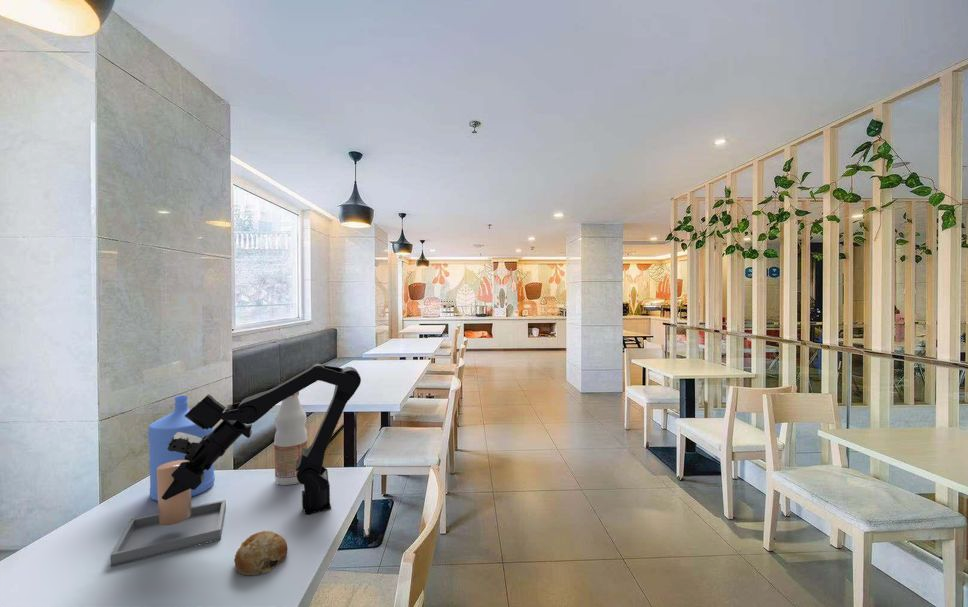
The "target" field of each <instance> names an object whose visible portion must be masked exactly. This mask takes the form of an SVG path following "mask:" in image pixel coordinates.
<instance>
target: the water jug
mask: <svg viewBox="0 0 968 607" xmlns="http://www.w3.org/2000/svg"><path fill="white" fill-rule="evenodd" d="M188 398H189V396H188V395H179V396H175V397H174V398H173V399H174V410H173V412H171V413H169V414H166V415H164V416H163V417H161V418H159V419H157V420H155V421H153V422H151V423H150V425H149V426H148V432H147V437H148V438H147V440H148V447H149V452H148V453H149V456H148V457H149V460H148V469H149V484H150V485H149V486H150V487H149V497H150V498H151V499H152V500H153V501H156V502H158V488H157V468H158V467H159V466H160V465H162V464H165V463H168V462H172V461H177V460H185V455H186V454H184V453H180V452H176V451H173V452H172V451H169V450H167V448H168V446H169V443H170V442H171V440H172V438H173V436H174V435H175V434H176V433H177V432H182V433H186V434H190V435H194V436H197V437H200V438H203V437H204V436H205V435H208V434H210V433H211V432H212V431H213V430H214V427H213V428H211V429H210V428H208V429H204V430H203V429H202V428H200V427H199V426H197V425H196V424H195V423H193V422H192V421H190V420H189V419H187V418H186V417H185V415H186V414H187V413H188V412H189V411H190V410H191V409H189V407H188V405H189V404H188V403H189V401H188ZM214 463H215V462H214ZM214 463H213V464H212V466H211V468H210V469H209V470H208V471H207V470H206V469H205V470H204V479H203V481H202V483H201V484H200V485H199V486H198V487H197V488H196V489H195V490H192V489H191V498H192V497H195V496H197V495H200V494H202V493H204V492H205V491H208V490H209V489H210V488H211V487H212V486H213V485H214V484H215V481H216V480H215V477H216V476H215V465H214Z"/></svg>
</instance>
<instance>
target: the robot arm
mask: <svg viewBox="0 0 968 607" xmlns="http://www.w3.org/2000/svg"><path fill="white" fill-rule="evenodd" d="M318 381H319V382H324V383H326V384H331V385H334V391H333V395H332V399H331V400H330V403H329V405H328V407H327V409H326V411H325V414H324V416H323V418H322V421H321V423H320V426H319V428H318V430H317V432H316V434H315V436H314V439H313V440H312V443H311V444H310V446H309V447H308V450H307V449H305V448H302V452H301V456H300V457H299V459H298V460H297V461H296V471H297V479H298V481H299V483H300V484H301V485H303V490H302V491H301V507H302V510H304V514H305V515H311V514H315V513H319V512H322V511H328V510H331V509H332V504H331V495H330V494H331V493H330V492H331V490H330V488H331V487H330V486H331V484H330V482H329V473H328V468H326V467H325V466H324V465H323V464H324V459H325V455H326V454H325V453H326V451H327V448H328V446H329V444H330V441H331V439H332V437H333V435H334V433H335V430H336V428H337V425H338V423H339V421H340V418H341V416H342V413H343V411H344V409H345V407H346V405H347V403H348V402H349V401H350V399H351V398H352V397H353V396H354V394H355V393H356V391H357V390H358V388H359V387H360V385H361V382H362V379H361V376H360V374H359V371H358V370H357V369H356V368H354V367H352V366H346V367H338V366H331V365H325V364H321V363H314V364H313V365H312V366H311V367H308V368H307V369H305V370H304V371H302V372H300V373H298V374H297V375H294V376H293V377H291V378H290V379H287V380H286V381H284V382H282V383H280V384H278V385H276V386H274V387H273V388H271V389H269V390H265V391H262V392H258V393H255V394H254V395H250V396H248V397H245V398H244V399H242V400H241V402H236V403H231V404H227V405H226V406H224V405H223V404H222V403H220V402H219V401H218V400H216V399H215V398H214V396H212V395H211V394H210V393H208V394H207V395H206V396H205V397H204V398H202V400H201V401H198V402H197V403H196V404H195V405H194V406H192V408H190V409H189V410H190V411H189V412H188V413H187V414H186V415H185V417H186V418H187V419H189V420H190V421H192V422H193V423H195V424H196V425H197V426H199V427H200V428H202V429H203V430H204V429H208V428H210V429H211V428H213V431H212V432H211V433H210V434H208V435H205V436H204V437H203V438H200V437H197V436H194V435H190V434H186V433H182V432H177V433H176V434H175V435H174V436H173V438H172V440H171V442H170V443H169V446H168V448H167V450H169V451H172V452H173V451H176V452H180V453H184V454H186V455H185V460H188V461H189V462H182V463H181V464H180V465H179V466H178V467H177V468H176V469H175V470H174V471H173V473H172V474H171V476H172V477H173V478H174V481H173V482H172V483H171V485H170V486H169V488H168V489H167V490H166V492H165V493H164V495H163V496H162V499H164V500H167V499H169V498H171V497H173V496H175V495H177V494H179V493H182V492H184V491H186V490H188V489H192V490H195V489H196V488H197V487H198V486H199V485H200V484H201V483H202V481H203V479H204V470H205V469H206V470H207V471H208V470H209V469H210V468H211V466H212V464H213V463H215V462H216V461H217V460H218V459H219V458H220V457H223V455H225V453H226V451H227V450H228V449H229V448H230V447H231V446H232V445H233V444H234V443H235V442H236V441H237V440H238V439H239V438H240V437H241V435H243V436H244V437H246V438H247V439H250V438H251V436H252V433H253V430H252V428H253V424H254V423H255V422H257V421H259V419H261V418H263V416H264V415H266V414H267V413H268V412H269V411H270V410H271V409H273V408H274V407H275V406H276V405H277V404H279V403H280V402H281V403H282V401H283V400H284V399H286V398H288V397H290V396H291V395H293V394H295V393H297V392H298V391H299V392H300V391H302V390H304V389H305V388H307V387H309V386H310V385H312V384H315V383H316V382H318ZM221 420H222V421H221ZM220 421H221V422H220ZM219 422H220V423H219ZM218 423H219V424H218ZM217 424H218V425H217ZM215 426H216V427H215ZM214 427H215V428H214Z"/></svg>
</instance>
